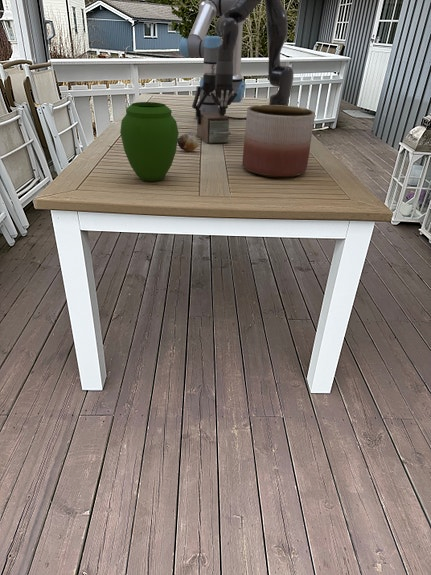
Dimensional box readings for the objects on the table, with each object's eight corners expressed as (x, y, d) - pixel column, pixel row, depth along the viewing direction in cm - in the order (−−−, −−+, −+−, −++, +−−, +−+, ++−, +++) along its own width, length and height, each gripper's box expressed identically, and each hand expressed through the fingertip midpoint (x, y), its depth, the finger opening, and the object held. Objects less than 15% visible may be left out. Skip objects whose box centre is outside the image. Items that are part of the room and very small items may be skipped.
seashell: (198, 149, 184) (198, 131, 180) (199, 152, 180) (199, 133, 175) (176, 149, 183) (176, 130, 179) (177, 152, 178) (177, 133, 174)
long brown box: (227, 142, 199) (229, 118, 193) (207, 143, 196) (208, 118, 190) (216, 135, 213) (217, 111, 207) (197, 135, 210) (197, 111, 204)
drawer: (231, 144, 193) (233, 123, 187) (213, 145, 190) (214, 123, 185) (217, 134, 210) (217, 114, 205) (199, 134, 207) (200, 114, 202)
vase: (131, 189, 135) (125, 110, 122) (118, 172, 150) (112, 100, 137) (186, 184, 142) (187, 109, 129) (169, 168, 157) (167, 99, 144)
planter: (315, 179, 154) (326, 116, 142) (250, 180, 150) (256, 115, 138) (293, 161, 175) (302, 105, 163) (236, 161, 171) (240, 103, 159)
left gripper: (189, 74, 186) (189, 125, 198) (236, 75, 193) (233, 124, 205) (185, 72, 192) (185, 122, 204) (231, 73, 199) (228, 121, 211)
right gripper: (212, 73, 172) (211, 116, 182) (241, 73, 176) (238, 116, 185) (207, 71, 178) (206, 113, 188) (235, 72, 182) (232, 113, 191)
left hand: (209, 123), depth 205 cm, fingers closed on long brown box, 10 cm apart
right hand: (222, 115), depth 186 cm, fingers closed
